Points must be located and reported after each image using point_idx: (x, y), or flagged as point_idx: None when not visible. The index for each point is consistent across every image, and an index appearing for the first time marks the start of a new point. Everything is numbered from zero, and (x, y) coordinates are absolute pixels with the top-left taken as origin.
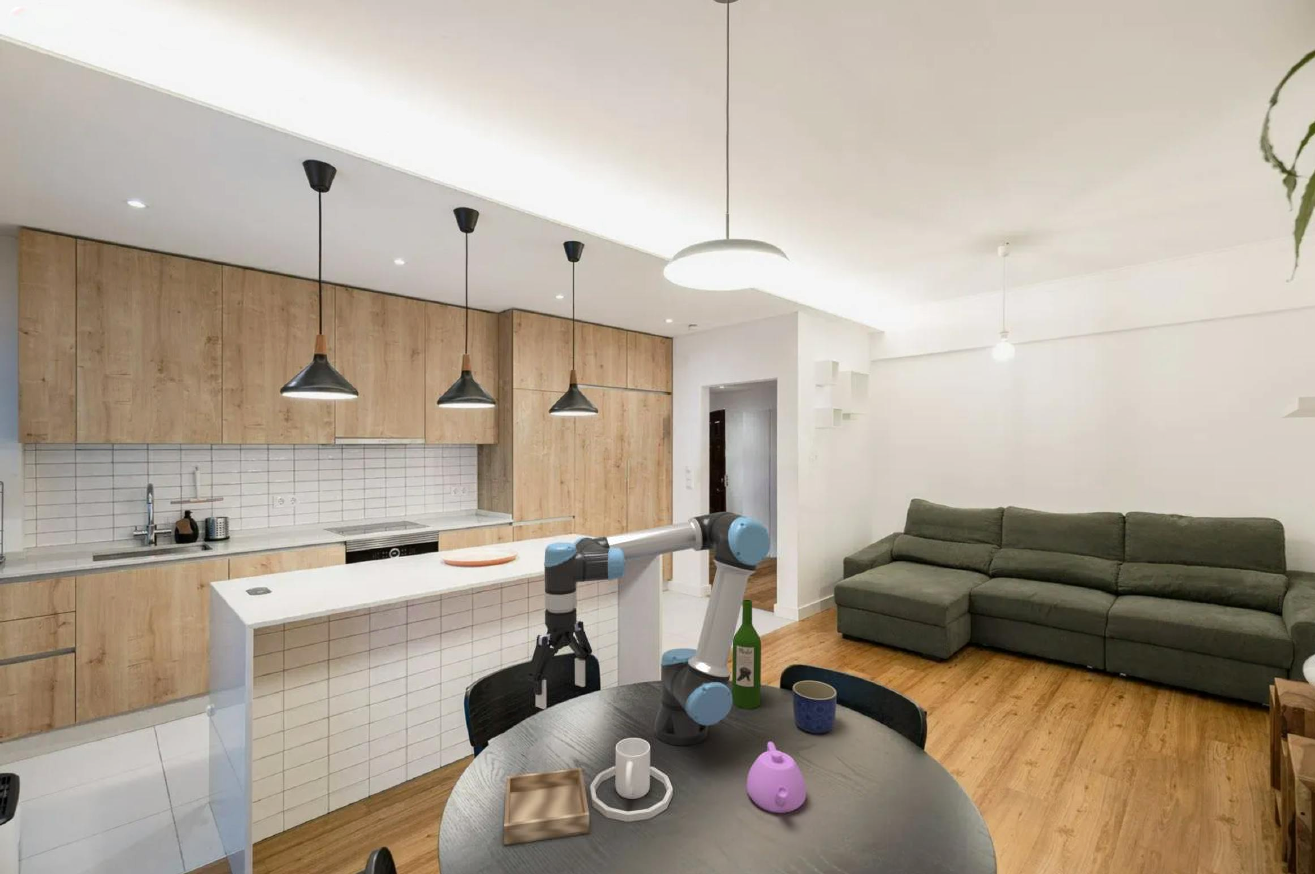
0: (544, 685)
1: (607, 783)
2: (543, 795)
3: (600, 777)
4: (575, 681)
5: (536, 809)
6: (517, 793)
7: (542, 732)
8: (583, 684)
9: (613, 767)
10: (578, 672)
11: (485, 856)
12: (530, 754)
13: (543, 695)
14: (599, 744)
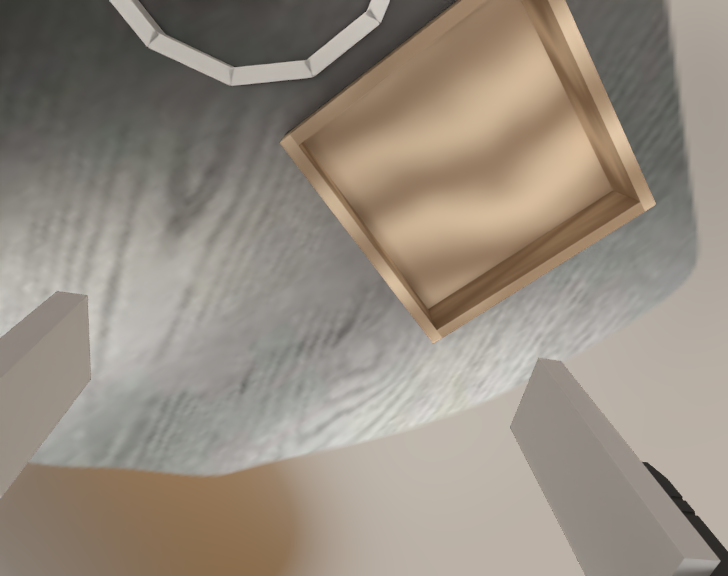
0: (671, 509)
1: (234, 39)
2: (404, 212)
3: (245, 66)
4: (78, 391)
5: (472, 192)
6: (424, 288)
7: (106, 408)
8: (72, 304)
9: (160, 46)
10: (20, 425)
11: (668, 209)
12: (229, 370)
13: (618, 436)
14: (36, 202)
